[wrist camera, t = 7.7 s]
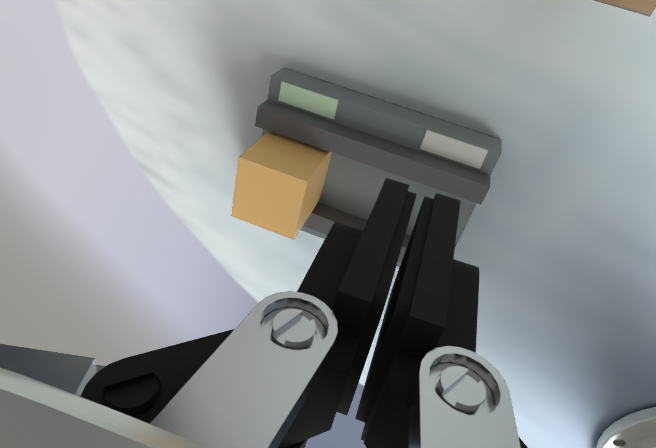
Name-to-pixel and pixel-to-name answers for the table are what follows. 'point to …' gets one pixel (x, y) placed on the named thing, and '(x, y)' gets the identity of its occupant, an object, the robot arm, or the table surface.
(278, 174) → the tan orange cube block
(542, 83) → the table surface
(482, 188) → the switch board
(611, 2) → the brown rectangular block
